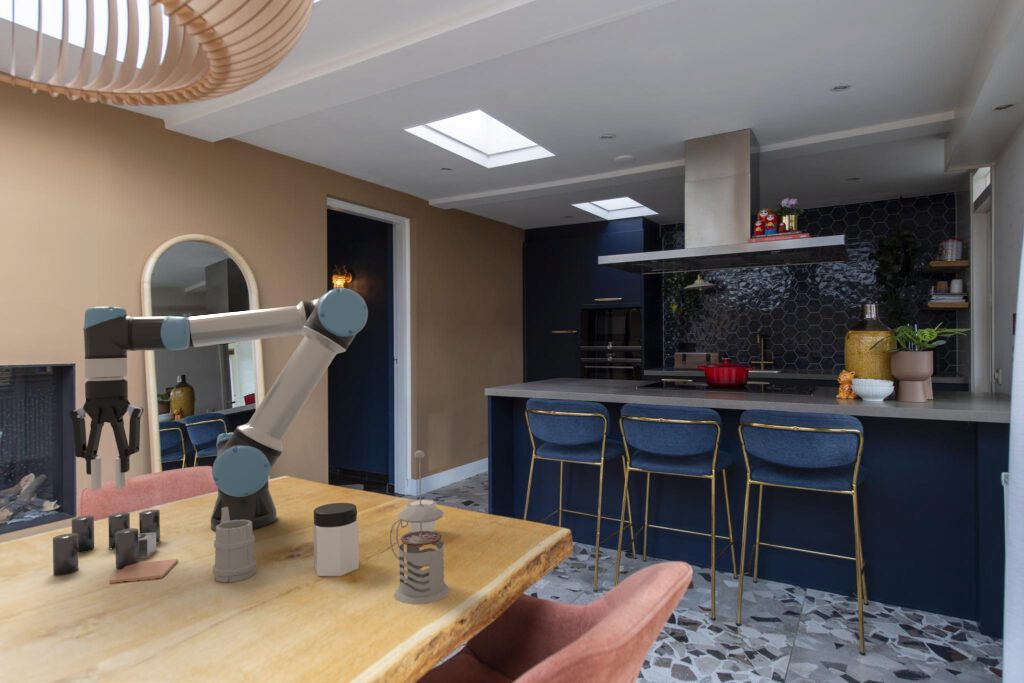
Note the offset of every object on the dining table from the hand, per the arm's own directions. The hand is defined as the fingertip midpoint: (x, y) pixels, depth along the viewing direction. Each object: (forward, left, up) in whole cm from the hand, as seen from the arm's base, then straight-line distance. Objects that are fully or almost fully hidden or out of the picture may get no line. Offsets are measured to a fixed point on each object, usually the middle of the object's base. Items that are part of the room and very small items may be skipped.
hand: (108, 488), depth 126 cm
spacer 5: (-5, -8, -15) cm, 17 cm away
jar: (-48, +21, -15) cm, 54 cm away
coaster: (-11, +12, -15) cm, 22 cm away
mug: (-28, +17, -15) cm, 36 cm away
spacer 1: (+5, +7, -15) cm, 17 cm away
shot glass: (-66, +3, -15) cm, 68 cm away
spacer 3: (+1, -7, -15) cm, 16 cm away
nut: (-6, 0, -15) cm, 16 cm away
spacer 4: (-6, +7, -15) cm, 17 cm away
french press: (-63, +36, -15) cm, 74 cm away
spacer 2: (+8, -7, -15) cm, 18 cm away
